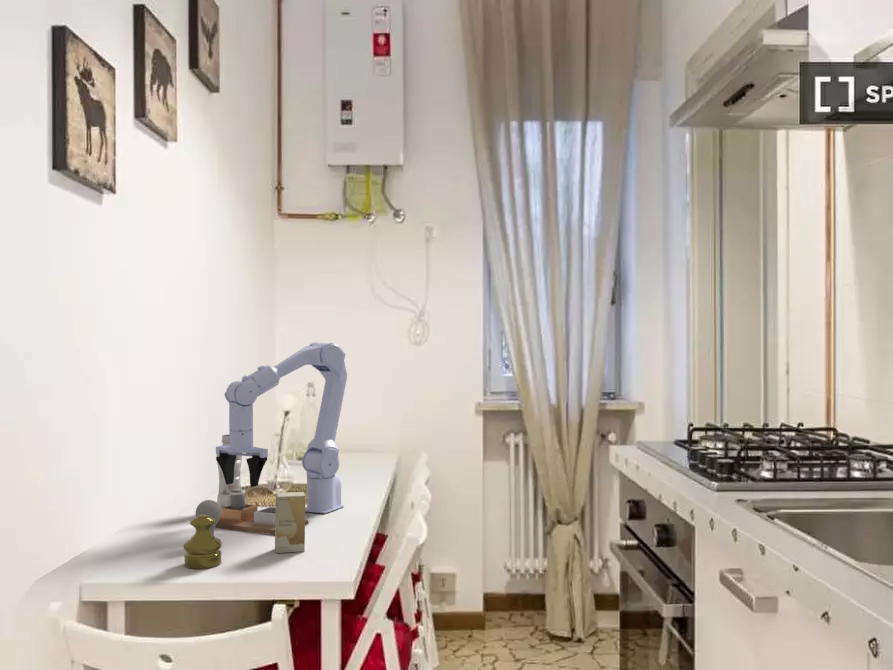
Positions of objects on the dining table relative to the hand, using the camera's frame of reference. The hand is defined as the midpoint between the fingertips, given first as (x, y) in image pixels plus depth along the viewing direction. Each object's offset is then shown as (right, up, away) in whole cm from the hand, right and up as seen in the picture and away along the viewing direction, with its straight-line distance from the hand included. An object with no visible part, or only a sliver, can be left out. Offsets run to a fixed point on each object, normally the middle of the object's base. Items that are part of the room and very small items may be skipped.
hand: (241, 485), depth 204 cm
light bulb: (-2, -10, -21) cm, 23 cm away
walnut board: (+4, -9, -3) cm, 11 cm away
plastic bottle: (-6, -10, +13) cm, 17 cm away
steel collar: (+9, -8, -5) cm, 13 cm away
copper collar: (-1, -9, 0) cm, 9 cm away
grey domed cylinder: (-1, -8, 0) cm, 8 cm away
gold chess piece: (+1, -10, -36) cm, 37 cm away
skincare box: (+17, -10, -25) cm, 32 cm away
